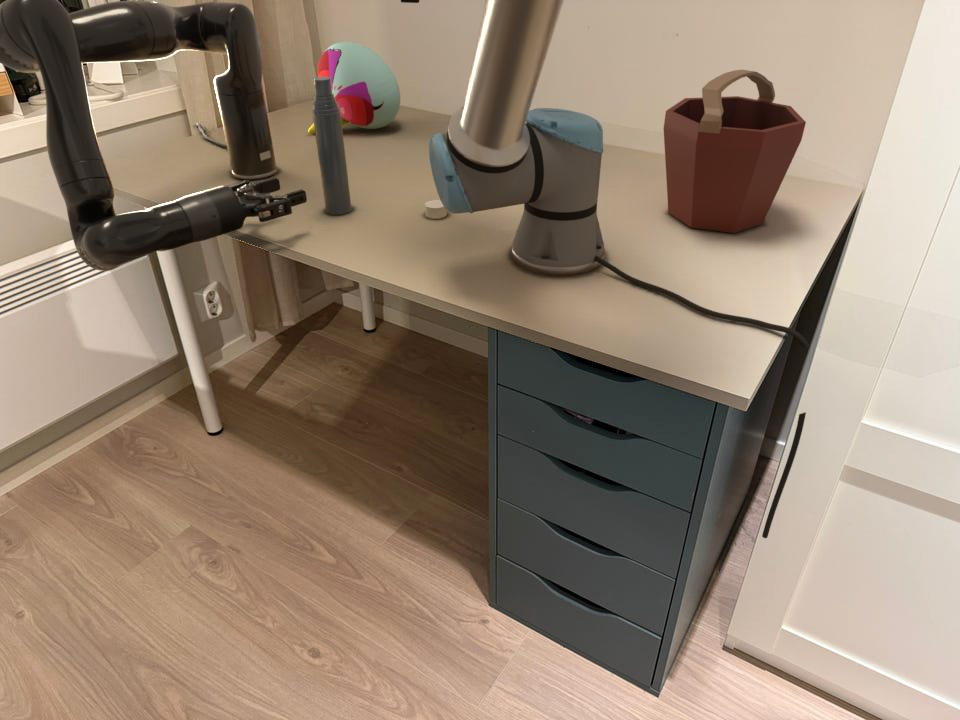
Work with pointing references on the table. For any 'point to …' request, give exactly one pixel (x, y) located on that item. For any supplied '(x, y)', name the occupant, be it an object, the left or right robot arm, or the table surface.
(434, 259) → the table surface
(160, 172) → the table surface
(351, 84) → the toy
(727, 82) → the bucket
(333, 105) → the bottle
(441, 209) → the cap
